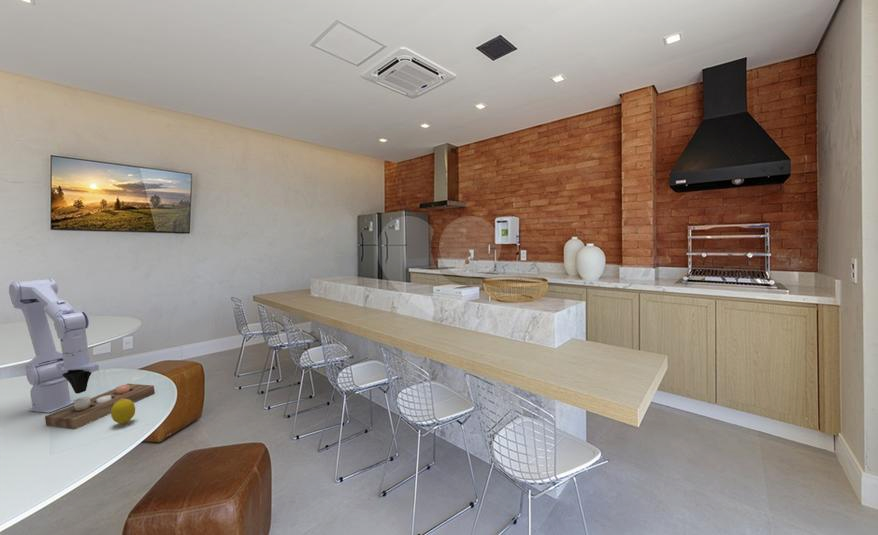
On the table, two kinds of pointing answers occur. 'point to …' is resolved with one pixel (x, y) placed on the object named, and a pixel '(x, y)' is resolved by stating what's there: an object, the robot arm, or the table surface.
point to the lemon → (123, 411)
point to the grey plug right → (82, 403)
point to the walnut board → (96, 408)
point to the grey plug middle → (103, 399)
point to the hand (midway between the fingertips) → (80, 392)
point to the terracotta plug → (122, 389)
